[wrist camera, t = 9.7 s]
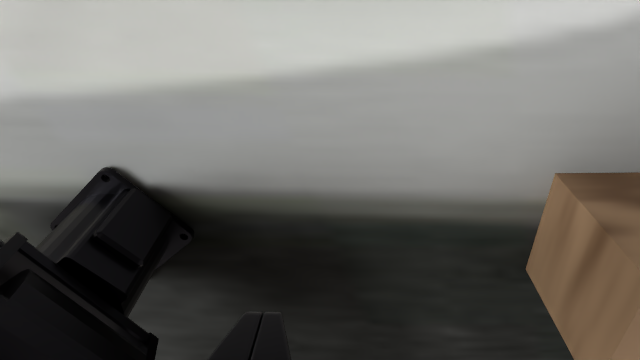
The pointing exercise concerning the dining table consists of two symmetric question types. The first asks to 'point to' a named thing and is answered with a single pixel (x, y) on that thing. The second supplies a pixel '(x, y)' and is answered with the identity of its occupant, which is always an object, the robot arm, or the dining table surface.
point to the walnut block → (591, 263)
